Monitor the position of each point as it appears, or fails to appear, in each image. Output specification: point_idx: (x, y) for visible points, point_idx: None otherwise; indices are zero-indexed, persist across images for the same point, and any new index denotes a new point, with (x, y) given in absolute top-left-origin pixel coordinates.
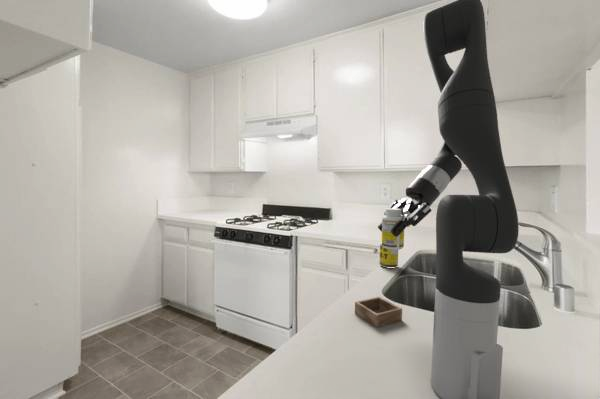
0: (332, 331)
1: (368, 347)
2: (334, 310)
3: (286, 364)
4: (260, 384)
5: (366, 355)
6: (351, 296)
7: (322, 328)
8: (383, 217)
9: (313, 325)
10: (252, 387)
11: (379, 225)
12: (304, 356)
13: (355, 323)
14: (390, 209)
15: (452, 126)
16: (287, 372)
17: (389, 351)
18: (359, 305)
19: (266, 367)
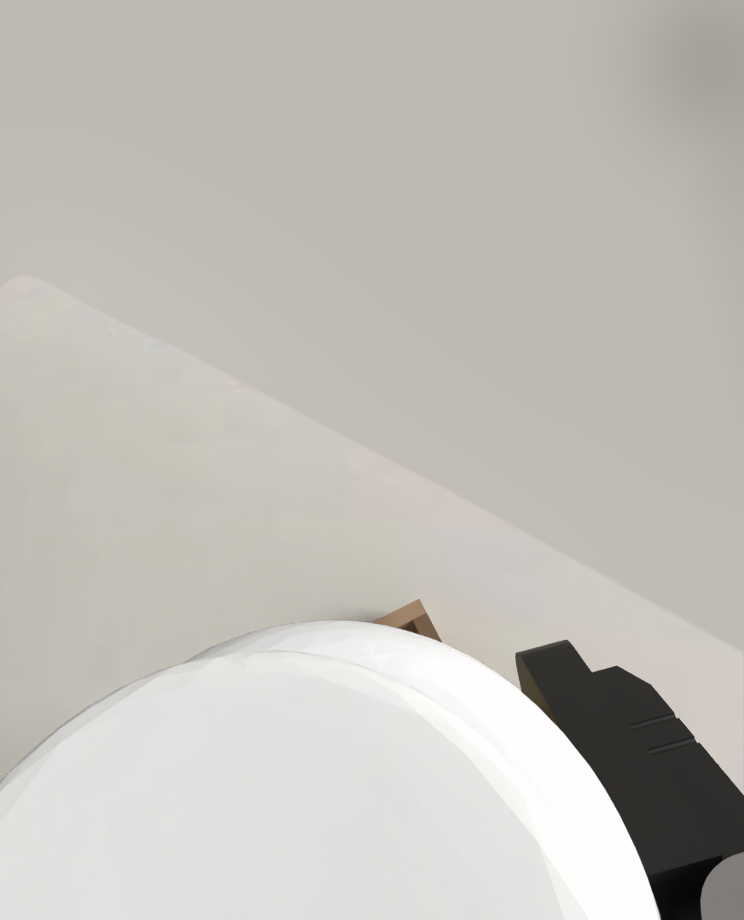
0: (248, 491)
1: (114, 615)
2: (446, 517)
3: (80, 353)
4: (18, 307)
5: (67, 594)
6: (659, 639)
7: (274, 455)
8: (298, 625)
9: (301, 423)
10: (13, 294)
11: (550, 657)
12: (106, 397)
13: (310, 599)
14: (21, 777)
15: None
16: (45, 358)
17: (70, 696)
18: (381, 618)
19: (79, 310)
